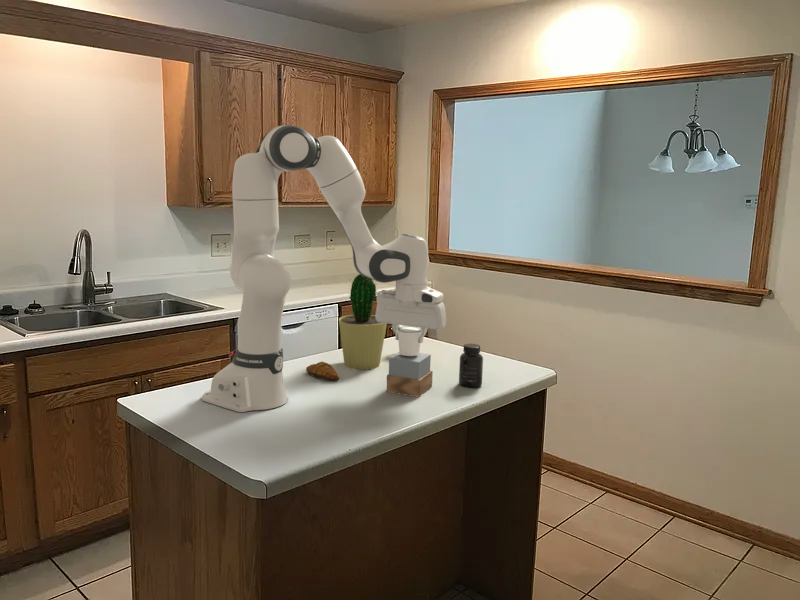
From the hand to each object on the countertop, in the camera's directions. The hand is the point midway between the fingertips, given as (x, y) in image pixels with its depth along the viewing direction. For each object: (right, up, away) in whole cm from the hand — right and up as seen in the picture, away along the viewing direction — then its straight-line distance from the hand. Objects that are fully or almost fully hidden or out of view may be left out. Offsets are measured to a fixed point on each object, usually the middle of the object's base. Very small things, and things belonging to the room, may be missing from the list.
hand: (409, 341), depth 184 cm
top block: (0, -9, +1) cm, 9 cm away
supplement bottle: (+18, -14, +8) cm, 24 cm away
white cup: (+1, -7, +39) cm, 40 cm away
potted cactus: (-15, -9, +25) cm, 31 cm away
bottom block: (0, -14, +2) cm, 14 cm away
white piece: (0, -4, +1) cm, 4 cm away
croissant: (-26, -12, +11) cm, 31 cm away
